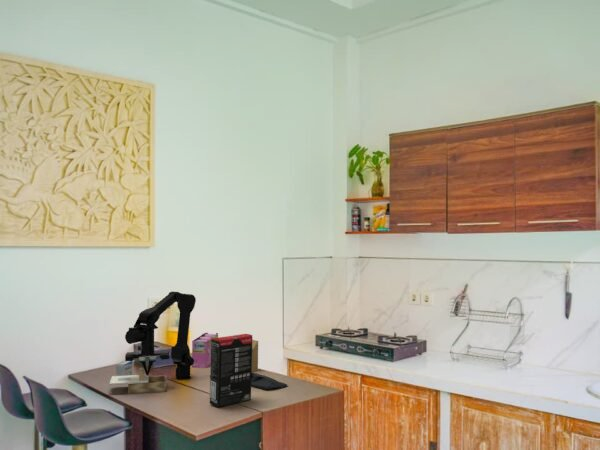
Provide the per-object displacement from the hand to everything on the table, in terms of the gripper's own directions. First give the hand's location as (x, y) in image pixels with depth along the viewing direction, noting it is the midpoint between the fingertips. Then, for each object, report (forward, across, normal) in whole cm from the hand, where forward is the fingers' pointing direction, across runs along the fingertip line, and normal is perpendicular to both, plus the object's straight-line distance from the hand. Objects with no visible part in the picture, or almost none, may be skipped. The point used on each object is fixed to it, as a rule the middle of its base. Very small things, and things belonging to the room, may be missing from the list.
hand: (147, 375), depth 259 cm
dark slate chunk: (+7, -51, +3) cm, 52 cm away
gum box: (+6, -29, -44) cm, 53 cm away
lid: (+2, +7, 0) cm, 8 cm away
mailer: (+6, 0, 0) cm, 6 cm away
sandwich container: (+6, -44, -20) cm, 49 cm away
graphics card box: (+6, -34, +27) cm, 44 cm away
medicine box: (+6, +11, -16) cm, 20 cm away
